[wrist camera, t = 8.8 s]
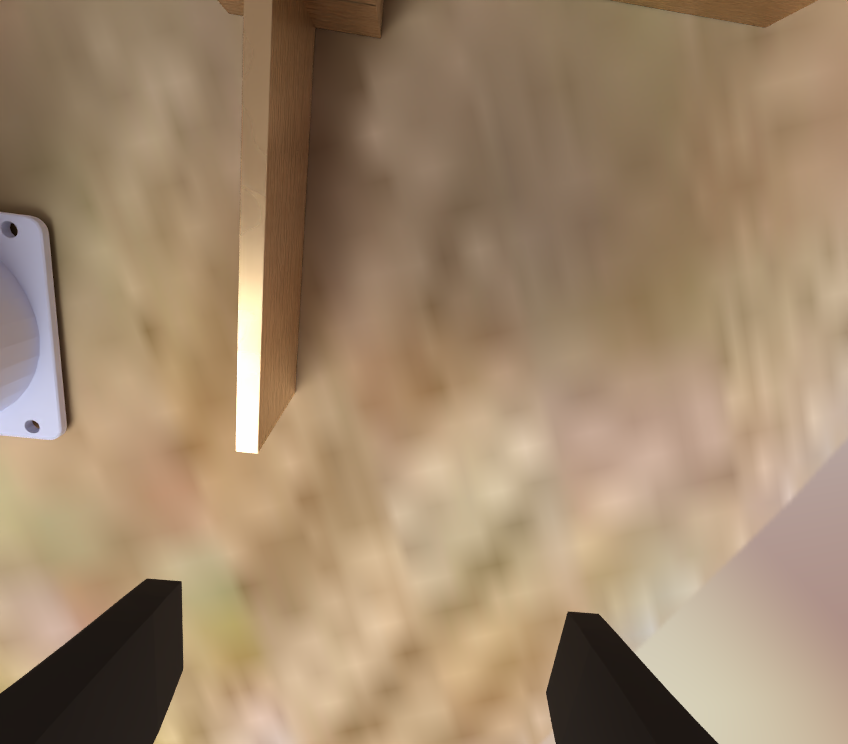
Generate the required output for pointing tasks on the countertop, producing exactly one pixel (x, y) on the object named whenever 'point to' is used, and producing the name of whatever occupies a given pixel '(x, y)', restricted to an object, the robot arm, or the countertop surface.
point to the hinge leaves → (287, 177)
